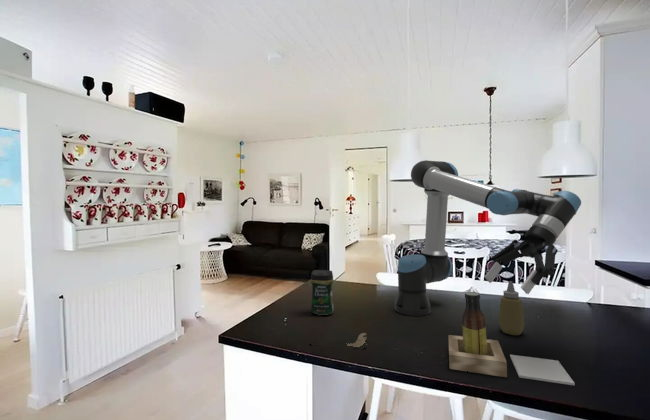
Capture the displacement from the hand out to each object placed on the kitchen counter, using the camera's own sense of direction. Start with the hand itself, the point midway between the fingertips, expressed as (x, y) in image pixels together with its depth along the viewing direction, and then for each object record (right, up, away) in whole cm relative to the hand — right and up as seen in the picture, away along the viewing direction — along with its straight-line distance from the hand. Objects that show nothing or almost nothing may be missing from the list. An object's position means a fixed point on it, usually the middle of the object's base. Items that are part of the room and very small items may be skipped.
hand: (504, 285), depth 94 cm
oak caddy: (-10, -22, -3) cm, 24 cm away
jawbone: (-49, -23, +12) cm, 55 cm away
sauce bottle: (-10, -22, -3) cm, 24 cm away
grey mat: (+5, -21, -8) cm, 23 cm away
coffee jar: (-55, -22, +41) cm, 72 cm away
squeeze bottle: (+12, -21, +17) cm, 30 cm away
